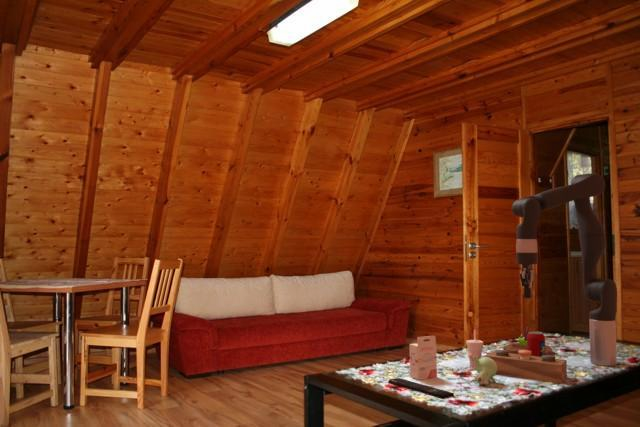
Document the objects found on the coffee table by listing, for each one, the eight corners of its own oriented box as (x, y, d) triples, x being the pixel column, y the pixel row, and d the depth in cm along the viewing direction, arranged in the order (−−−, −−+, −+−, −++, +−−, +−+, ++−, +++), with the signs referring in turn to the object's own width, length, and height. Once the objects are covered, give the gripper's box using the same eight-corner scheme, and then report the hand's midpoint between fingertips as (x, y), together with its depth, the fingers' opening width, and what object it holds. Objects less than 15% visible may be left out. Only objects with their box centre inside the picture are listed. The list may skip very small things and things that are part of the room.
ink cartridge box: (428, 374, 194) (427, 333, 195) (437, 377, 189) (436, 335, 190) (409, 377, 190) (408, 335, 191) (417, 380, 185) (417, 337, 186)
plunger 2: (543, 374, 192) (543, 354, 192) (556, 376, 189) (556, 356, 189) (540, 376, 188) (540, 356, 188) (554, 378, 185) (553, 358, 186)
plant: (556, 351, 236) (556, 325, 236) (549, 359, 219) (548, 332, 220) (509, 346, 246) (509, 322, 247) (499, 354, 230) (498, 328, 230)
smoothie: (484, 365, 207) (484, 329, 208) (482, 369, 201) (481, 331, 202) (467, 364, 210) (467, 328, 210) (465, 367, 204) (464, 330, 205)
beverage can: (547, 365, 208) (546, 334, 208) (529, 364, 209) (528, 333, 210) (543, 361, 214) (543, 331, 215) (525, 360, 216) (525, 330, 216)
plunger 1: (498, 368, 201) (498, 349, 201) (510, 369, 198) (510, 350, 198) (494, 370, 197) (494, 351, 197) (507, 372, 194) (506, 352, 195)
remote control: (442, 400, 163) (442, 396, 163) (387, 384, 182) (387, 380, 182) (453, 397, 166) (453, 393, 167) (398, 381, 185) (398, 377, 186)
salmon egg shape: (520, 368, 196) (520, 349, 196) (533, 370, 194) (532, 350, 194) (517, 371, 192) (516, 351, 193) (530, 372, 190) (529, 352, 190)
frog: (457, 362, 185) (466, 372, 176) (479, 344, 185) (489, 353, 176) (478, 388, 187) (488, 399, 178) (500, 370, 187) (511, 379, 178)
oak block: (493, 367, 204) (492, 351, 205) (566, 376, 190) (566, 359, 190) (484, 372, 196) (484, 355, 197) (561, 383, 182) (561, 365, 182)
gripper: (533, 251, 193) (534, 300, 192) (541, 251, 204) (542, 297, 203) (511, 251, 197) (512, 299, 196) (520, 251, 208) (521, 296, 207)
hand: (527, 298), depth 199 cm, fingers closed
